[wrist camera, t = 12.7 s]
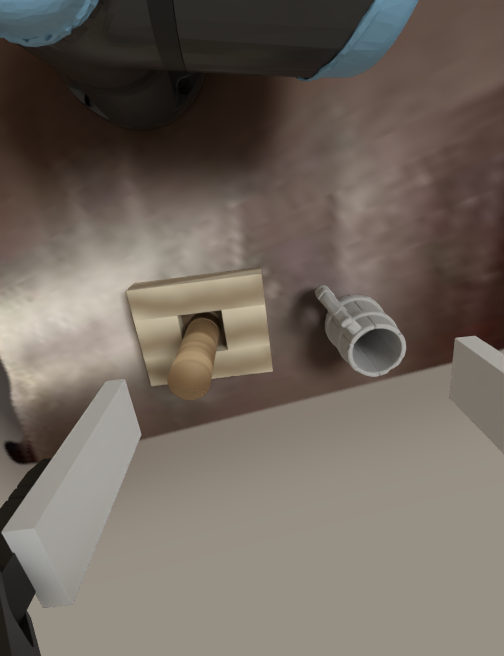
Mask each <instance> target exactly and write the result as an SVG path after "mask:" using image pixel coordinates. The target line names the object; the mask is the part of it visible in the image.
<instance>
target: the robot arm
mask: <svg viewBox="0 0 504 656" xmlns="http://www.w3.org/2000/svg"><path fill="white" fill-rule="evenodd" d="M417 2H418V0H0V38H5V39H6V40H7V41H9V42H12V43H15V44H17V45H19V46H20V47H22V48H24V49H25V50H27V51H28V52H30V53H32V54H33V55H35V56H37V57H38V58H40V59H42V60H43V61H45V62H46V63H48V64H50V65H51V66H53V67H55V68H56V69H57V70H58V72H59V74H60V75H61V77H62V79H63V80H64V82H65V83H66V85H67V86H68V88H69V89H70V90H71V92H72V93H73V94H74V95H75V96H76V98H77V99H78V100H79V101H80V102H81V103H82V104H83V105H85V106H86V107H87V108H88V109H89V110H91V111H92V112H93V113H95V114H96V115H98V116H99V117H101V118H103V119H105V120H107V121H109V122H111V123H113V124H115V125H118V126H120V127H123V128H127V129H132V130H152V129H157V128H160V127H163V126H166V125H168V124H170V123H172V122H174V121H175V120H177V119H178V118H179V117H181V116H182V115H183V114H184V113H185V112H186V111H187V110H188V109H189V108H190V106H191V105H192V104H193V102H194V101H195V99H196V98H197V96H198V94H199V92H200V90H201V88H202V85H203V83H204V80H205V76H206V73H220V74H241V75H262V76H283V77H296V78H297V79H298V80H301V81H311V80H317V79H319V78H346V77H353V76H355V75H358V74H361V73H363V72H365V71H366V70H368V69H370V68H371V67H372V66H374V65H375V64H376V63H377V62H378V61H379V60H380V59H381V58H382V57H383V56H384V55H385V54H386V52H387V51H388V50H389V49H390V47H391V46H392V45H393V43H394V42H395V40H396V39H397V38H398V36H399V34H400V33H401V31H402V30H403V28H404V26H405V24H406V23H407V21H408V19H409V17H410V15H411V14H412V12H413V10H414V8H415V6H416V4H417ZM449 398H450V399H451V400H452V401H453V402H454V403H455V404H456V405H457V406H458V407H459V408H460V409H461V410H462V412H463V413H464V414H465V415H466V416H467V417H468V418H469V419H470V420H471V421H472V422H473V423H474V424H475V425H476V426H477V427H478V428H479V429H480V430H481V431H482V432H483V433H484V434H485V435H486V436H487V437H488V438H489V439H490V440H491V441H492V442H493V443H494V444H495V445H496V446H497V447H498V449H499V450H500V451H501V452H502V453H503V454H504V355H503V354H502V353H501V352H499V351H498V350H496V349H494V348H493V347H491V346H490V345H488V344H487V343H485V342H484V341H482V340H481V339H479V338H478V337H476V336H469V337H461V338H455V345H454V355H453V365H452V375H451V385H450V395H449ZM140 437H141V432H140V428H139V425H138V422H137V418H136V415H135V411H134V408H133V405H132V401H131V398H130V395H129V391H128V388H127V385H126V381H125V379H120V380H111V381H106V382H105V383H104V385H103V386H102V388H101V389H100V390H99V392H98V393H97V395H96V396H95V398H94V399H93V401H92V402H91V403H90V405H89V406H88V408H87V409H86V411H85V412H84V413H83V415H82V416H81V418H80V419H79V421H78V422H77V424H76V425H75V426H74V428H73V429H72V431H71V432H70V434H69V435H68V437H67V438H66V439H65V441H64V442H63V444H62V445H61V447H60V448H59V449H58V451H57V452H56V454H55V455H54V457H53V458H49V459H43V460H41V461H40V462H39V463H38V464H37V465H35V466H34V468H32V469H31V470H30V471H28V472H27V474H26V475H25V476H24V478H23V479H22V480H21V482H20V483H19V484H18V486H17V489H15V490H14V491H13V492H12V494H11V495H10V496H9V499H8V501H6V502H5V503H4V504H3V506H2V507H1V508H0V656H41V654H40V650H39V647H38V643H37V639H36V635H35V632H34V628H33V624H32V620H31V617H30V616H29V614H28V612H27V609H28V607H29V605H30V603H31V601H32V598H33V597H34V595H35V594H36V596H37V598H38V599H39V601H40V603H41V605H42V607H43V608H48V607H56V606H66V605H73V603H74V600H75V598H76V595H77V593H78V590H79V588H80V585H81V583H82V580H83V578H84V575H85V573H86V570H87V568H88V566H89V563H90V561H91V558H92V556H93V553H94V551H95V548H96V546H97V543H98V541H99V538H100V536H101V533H102V531H103V528H104V526H105V523H106V521H107V518H108V516H109V513H110V511H111V509H112V506H113V504H114V501H115V499H116V496H117V494H118V491H119V489H120V486H121V484H122V481H123V479H124V476H125V474H126V471H127V469H128V466H129V464H130V462H131V459H132V456H133V454H134V451H135V449H136V447H137V444H138V442H139V439H140Z"/></svg>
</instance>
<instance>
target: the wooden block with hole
mask: <svg viewBox="0 0 504 656" xmlns="http://www.w3.org/2000/svg"><path fill="white" fill-rule="evenodd" d="M126 293H127V297H128V301H129V305H130V308H131V312H132V316H133V319H134V323H135V327H136V331H137V334H138V338H139V342H140V345H141V349H142V353H143V357H144V360H145V364H146V368H147V372H148V375H149V379H150V383H151V386H157V385H165V384H168V382H167V378H168V374H169V372H170V369H171V367H172V364H173V362H174V360H175V357H176V355H177V352H178V350H179V347H180V345H181V342H182V340H183V338H184V335H185V333H186V330H187V327H188V325H189V323H190V321H191V319H192V317H193V316H194V315H195V314H197V313H202V312H209V313H212V314H214V315H215V316H216V317H217V318H218V320H219V322H220V335H219V340H218V344H217V350H216V355H215V361H214V367H213V372H212V378H211V379H214V378H222V377H231V376H239V375H247V374H255V373H263V372H271V371H273V369H272V360H271V352H270V343H269V335H268V326H267V317H266V309H265V300H264V292H263V283H262V275H261V269H260V267H257V268H250V269H242V270H234V271H226V272H219V273H211V274H203V275H195V276H188V277H180V278H172V279H165V280H157V281H149V282H141V283H134V284H133V285H132V286H131V287H130V288H129V289H128V290H127V291H126Z"/></svg>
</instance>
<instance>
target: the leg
mask: <svg viewBox="0 0 504 656" xmlns="http://www.w3.org/2000/svg"><path fill="white" fill-rule="evenodd" d="M219 335H220V322H219V320H218V318H217V317H216V316H215V315H214V314H212V313H209V312H202V313H197V314H195V315H194V316H193V317H192V319H191V321H190V323H189V325H188V327H187V330H186V333H185V335H184V338H183V340H182V342H181V345H180V347H179V350H178V352H177V355H176V357H175V360H174V362H173V364H172V367H171V369H170V372H169V374H168V378H167V382H168V386H169V388H170V390H171V391H172V393H173V394H175V395H176V396H177V397H179V398H182V399H186V400H195V399H198V398H201V397H202V396H204V395H205V394H206V393H207V392H208V390H209V388H210V383H211V378H212V372H213V367H214V361H215V355H216V350H217V344H218V340H219Z"/></svg>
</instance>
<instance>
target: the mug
mask: <svg viewBox="0 0 504 656" xmlns="http://www.w3.org/2000/svg"><path fill="white" fill-rule="evenodd" d="M315 295H316V297H317V298H318V300H319V301H320V302H321V303H322V304H323V305H324V306H325V307H326V309H327V310H328V313H327V314H326V320H325V331H326V334H327V337H328V338H329V340H330V341H331V343H332V344H333V345H334V346H336V347H337V349H338V351H339V353H340V355H341V356H342V358H343V359H344V360H345V361H346V362H348V363H349V364H350V365H351V367H352V368H353V369H354V370H355V371H357V372H359V373H361V374H363V375H366V376H372V377H376V376H379V375H380V376H381V375H383V374H387V373H388V372H389V370H390V369H394V368H395V367H396V366H397V365H399V363H400V362H401V360H402V358H403V357H404V355H405V351H406V342H405V339H404V337H403V335H402V334H401V333H400V331H399V330H398V328H397V326H396V324H395V322H394V321H393V320H392V319H391V318H390V317H389V316H388V315H386V314H385V313H384V312H383V310H382V308H381V307H380V305H379V304H378V303H377V302H376V301H375V300H373V299H371V298H370V297H368V296H363V295H349V296H348V295H347V296H344V297H341V298H340V299H338V300H337V299H336V298H335V295H334V294H333V293H332V291H331V290H330V289H329V288H328V287H327V286H325V285H321V286H319V287H318V288H317V289H316V290H315Z"/></svg>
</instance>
